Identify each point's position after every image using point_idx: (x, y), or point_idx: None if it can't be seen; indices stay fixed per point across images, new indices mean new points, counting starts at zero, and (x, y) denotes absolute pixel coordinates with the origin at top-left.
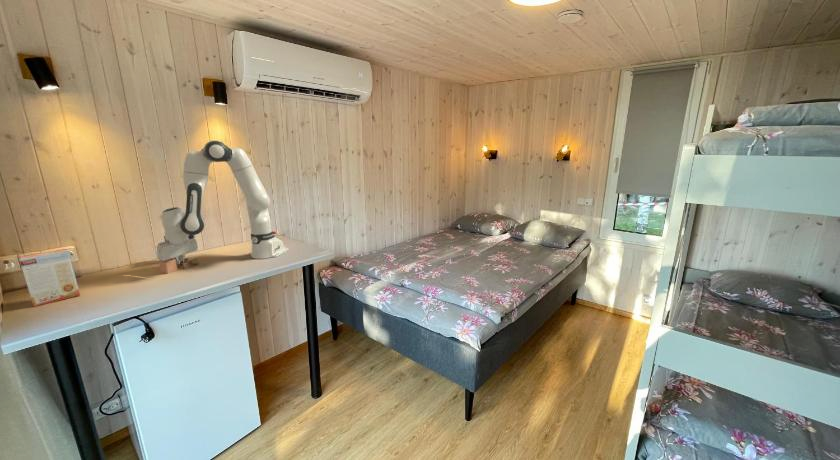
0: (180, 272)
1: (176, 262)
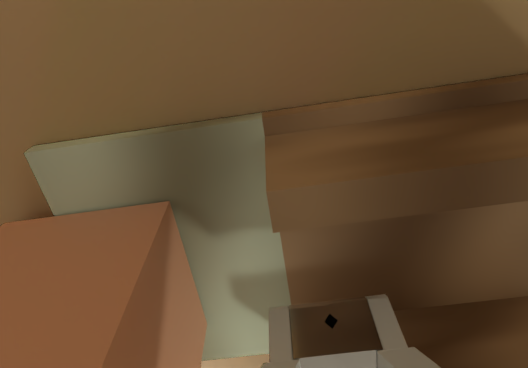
0: (208, 362)
1: (331, 213)
